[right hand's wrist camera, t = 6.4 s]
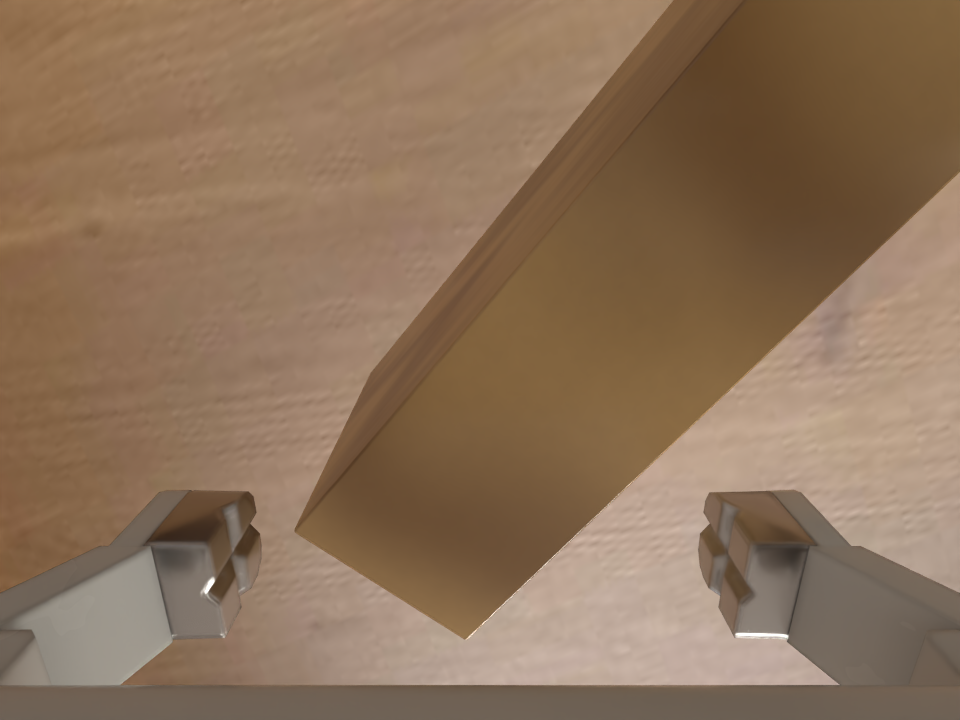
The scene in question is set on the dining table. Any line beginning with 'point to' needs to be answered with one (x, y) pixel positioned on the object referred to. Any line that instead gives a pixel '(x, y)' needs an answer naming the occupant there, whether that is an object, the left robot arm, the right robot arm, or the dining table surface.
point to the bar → (637, 285)
